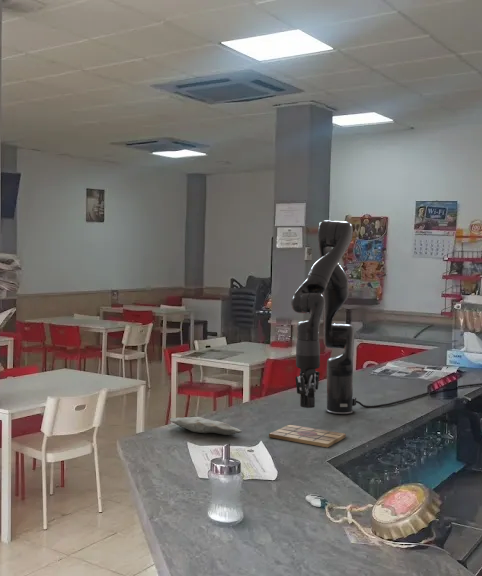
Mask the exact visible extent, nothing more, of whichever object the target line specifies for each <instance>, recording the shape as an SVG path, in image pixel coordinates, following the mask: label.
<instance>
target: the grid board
mask: <svg viewBox="0 0 482 576" xmlns="http://www.w3.org/2000/svg"><path fill="white" fill-rule="evenodd" d="M268 437H269V438H271V439H277V440H283V441H289V442H293V443H294V442H295V443H299V444H305V445H311V446H316V447H322V448H329V447H331V446H334V445H335V444H337V443H338V442H340V441H342V440H344V439H345V438H347V434H346V433H345V432H344V433H343V432H337V431H332V430H326V429H320V428H313V427H308V426H301V425H295V424H287V425H285V426H283V427H281V428H278V429H276V430H274V431H272V432H269V433H268Z"/></svg>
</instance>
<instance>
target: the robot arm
mask: <svg viewBox="0 0 482 576" xmlns="http://www.w3.org/2000/svg"><path fill="white" fill-rule="evenodd" d="M353 236H354V228H353V224H352V223H350V222H349V221H344V220H343V221H342V220H330V219H329V220H328V219H325V220H321V221H320V222H319V224H318V227H317V244H318V251H319V259H317V260H316V261H315V262H314V263H312V264H313V265H311V267H310V269H309V272H308V274H307V276H306V278H305V281H303V283H302V284H300V286H299V287H298V288H297V289H296V291H295V292H294V294H293V295H292V297H291V301H290V302H291V303H290V305H291V308H292V310H293V312H295V313H296V314H308V315H310V316H309V319H307V320H301V321H298V323H297V324H296V343H295V367H296V368H297V369H300V371H299V376H295V378H294V379H295V387H296V394H298V395H300V396H301V406H303V407H302V408H304V407H307V406H308V395H310V396H314V397H315V398H316V395H315V393H316V391H317V390H318V389H319V383H320V374H321V373H320V371H316V370H318V369H319V368H321V344H320V326H321V322H323V323H322V326H323V327H322V339H323V344H324V346H325V347H326V348H328V349H338V350H339V349H340V350H343V351H342V352H341V353H339V354H338V355H334V356H331V357H328V358H327V360H326V412H327V413H329V414H333V415H351V414H353V413H354V409H353V407H355V406H356V405H357V404H358V405H360V406H361V407H363V408H366V409H369V408H380V407H387V406H391V405H392V406H393V405H396V404H400V403H403V402H406V401H409V400H413V399H416V398H419V397H423V396H427V395H429V393H428V392H429V391H426V392H423V393H420V394H417V395H413V396H410V397H408V398H404V399H400V400H396V401H392V402H388V403H381V404H375V405H366V404H363V403H362V402H360V401H358V400H357V397H353V396H354V394H353V391H354V389H353V388H354V375H353V374H354V341H355V340H354V339H355V330H354V326H353V325H352V324H351V323H350V324H349V323H333V321H334V318H335V317H336V315H337V313H338V311H339V310H340V309H341V307H342V306H344V304H345V302H346V301H347V300H348V297H349V293H350V292H349V291H350V290H349V277H348V274H347V273H346V271H345V270H344V268H343V267H342V266H341V265H340V262H341V260H342V258H343V257H344V254H345V253H346V252H347V250H348V248H349V247H350V245H351V243H352V240H353ZM322 317H323V321H322ZM457 386H458V388H466V387H473V386H475V387H476V386H482V382H479V383H469V384H461V385H457ZM458 388H457V389H458ZM301 406H300V407H301Z"/></svg>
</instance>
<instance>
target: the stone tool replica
mask: <svg viewBox="0 0 482 576" xmlns="http://www.w3.org/2000/svg"><path fill="white" fill-rule="evenodd" d="M169 421H170V422H171V423H172V424H174V425H176V426H177V427H180V428H184V429H186V430H188V431H189V432H192V433H200V434H218V435H223V436H231V435H232V436H233V435H235V434H241V433H243V430H241V429H239V428H237V427H234V426H232V425H231V424H229V423H226V422H222V421H219V420H212V419H208V418H204V417H201V416H194V417H193V416H192V417H191V416H185V417H171V418H169Z"/></svg>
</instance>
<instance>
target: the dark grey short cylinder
mask: <svg viewBox="0 0 482 576" xmlns="http://www.w3.org/2000/svg"><path fill="white" fill-rule="evenodd" d="M299 405H300V407H301V408H304V409H313V408H315V407H316V396H315V397H314V396H310V395H308V406H307V407H303V406H301V395H300V397H299Z"/></svg>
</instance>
